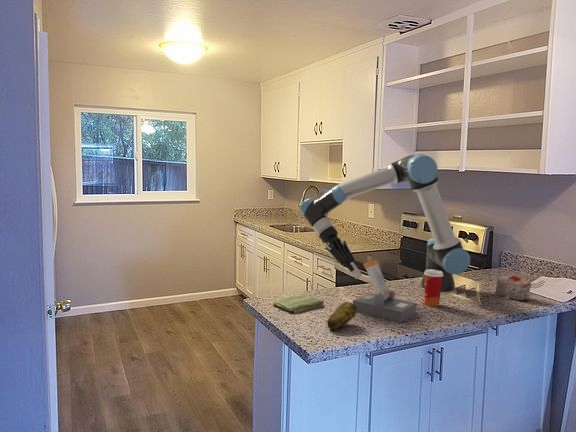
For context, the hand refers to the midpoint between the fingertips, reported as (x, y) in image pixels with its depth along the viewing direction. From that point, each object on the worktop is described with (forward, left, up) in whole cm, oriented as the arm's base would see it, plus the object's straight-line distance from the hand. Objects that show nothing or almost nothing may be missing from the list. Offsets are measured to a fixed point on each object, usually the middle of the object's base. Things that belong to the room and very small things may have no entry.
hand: (358, 276), depth 183 cm
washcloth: (+23, -4, -12) cm, 27 cm away
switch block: (-7, +9, -12) cm, 17 cm away
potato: (+16, +20, -12) cm, 29 cm away
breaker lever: (-7, +10, -7) cm, 14 cm away
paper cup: (-31, +5, -12) cm, 33 cm away
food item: (-73, +4, -12) cm, 74 cm away
